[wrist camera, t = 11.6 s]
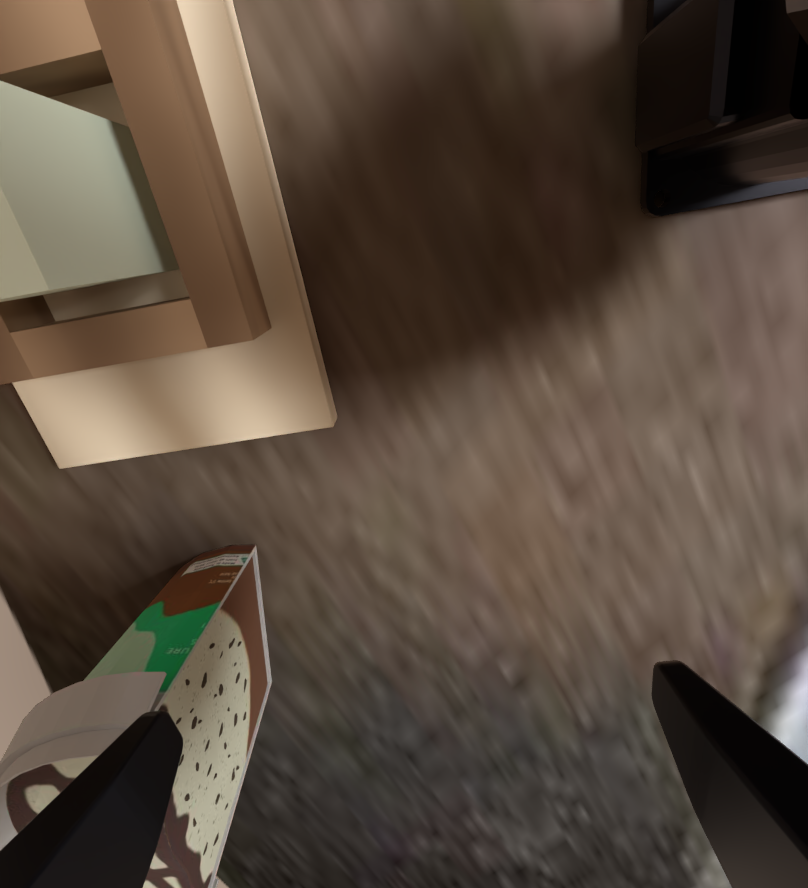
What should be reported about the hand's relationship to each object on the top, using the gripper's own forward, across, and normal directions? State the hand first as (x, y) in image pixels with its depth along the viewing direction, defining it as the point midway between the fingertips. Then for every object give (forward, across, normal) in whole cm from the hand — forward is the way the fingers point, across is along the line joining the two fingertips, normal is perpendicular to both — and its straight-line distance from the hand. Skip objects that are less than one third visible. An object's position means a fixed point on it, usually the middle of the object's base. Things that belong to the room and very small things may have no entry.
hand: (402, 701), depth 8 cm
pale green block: (+10, +8, -10) cm, 17 cm away
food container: (+12, +12, +8) cm, 19 cm away
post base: (+12, +8, -10) cm, 17 cm away
